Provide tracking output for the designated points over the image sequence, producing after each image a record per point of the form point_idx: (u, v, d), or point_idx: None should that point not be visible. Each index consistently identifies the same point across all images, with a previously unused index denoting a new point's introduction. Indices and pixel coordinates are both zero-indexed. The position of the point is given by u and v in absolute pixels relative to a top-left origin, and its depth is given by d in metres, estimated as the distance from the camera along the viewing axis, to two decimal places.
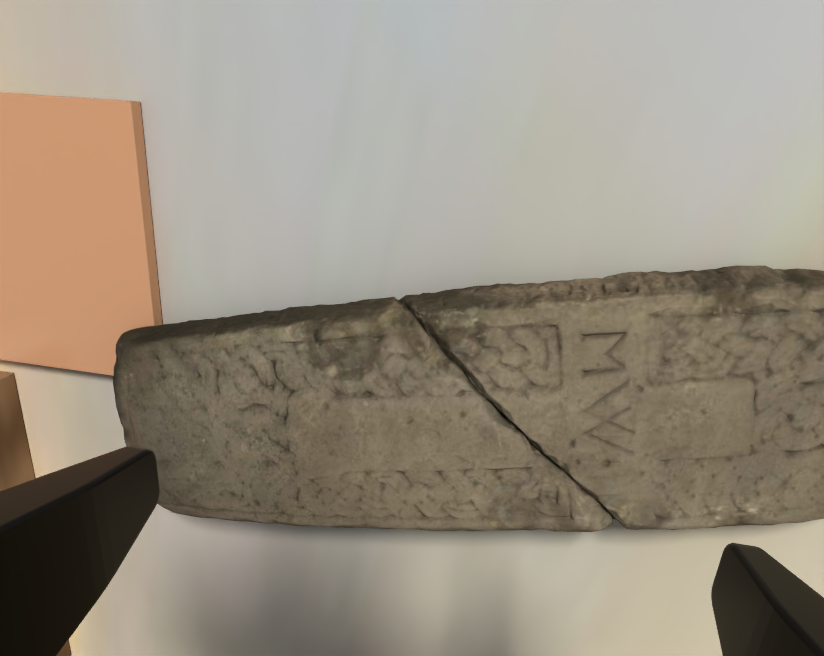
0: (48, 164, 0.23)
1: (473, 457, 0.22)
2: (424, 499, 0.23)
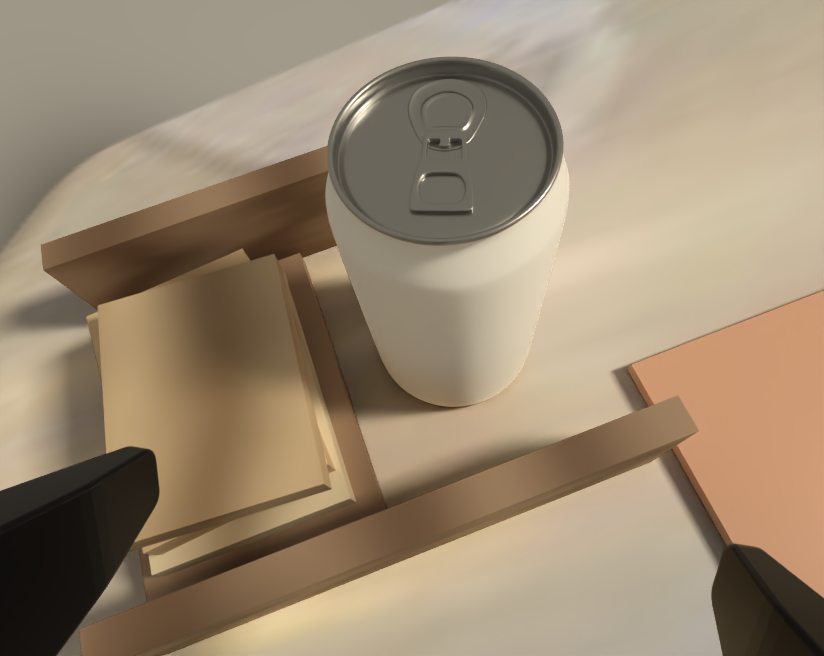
0: None
1: None
2: None
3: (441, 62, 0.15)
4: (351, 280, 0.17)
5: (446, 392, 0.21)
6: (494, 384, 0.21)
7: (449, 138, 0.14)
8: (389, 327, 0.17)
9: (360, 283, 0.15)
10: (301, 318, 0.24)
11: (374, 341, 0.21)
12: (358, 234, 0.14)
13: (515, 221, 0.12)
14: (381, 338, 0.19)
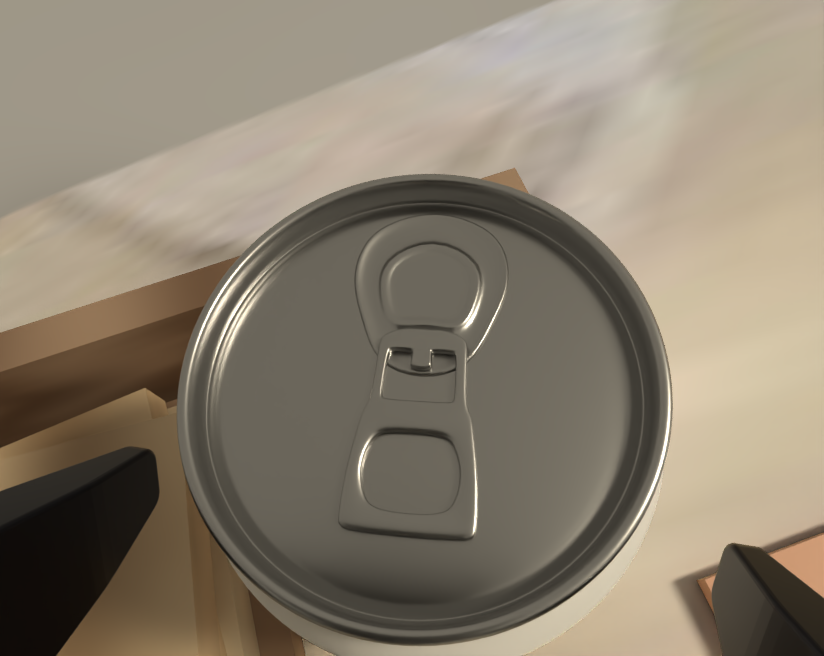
0: None
1: None
2: None
3: (423, 183, 0.08)
4: None
5: None
6: None
7: (433, 346, 0.07)
8: None
9: None
10: None
11: None
12: None
13: (571, 595, 0.05)
14: None
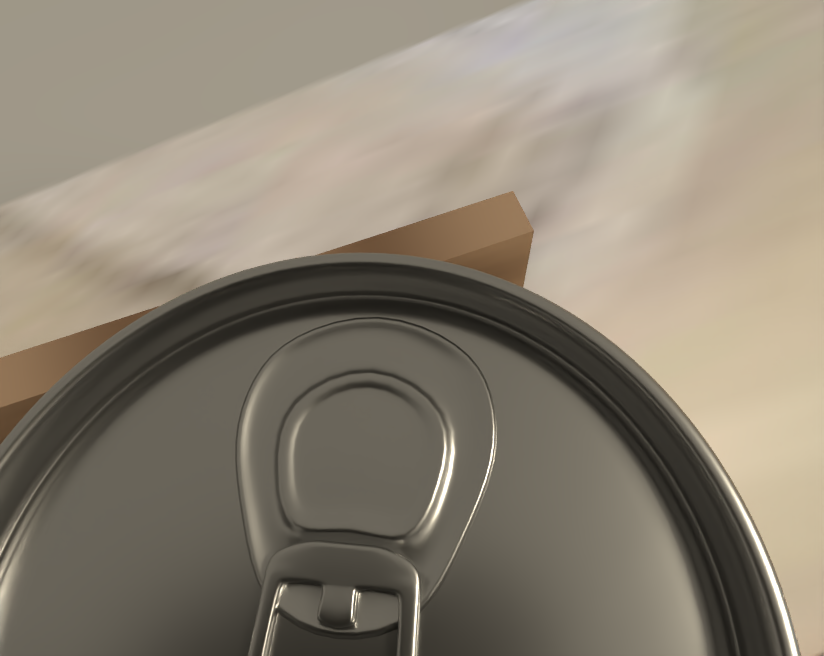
0: None
1: None
2: None
3: (359, 265, 0.05)
4: None
5: None
6: None
7: (361, 575, 0.04)
8: None
9: None
10: None
11: None
12: None
13: None
14: None
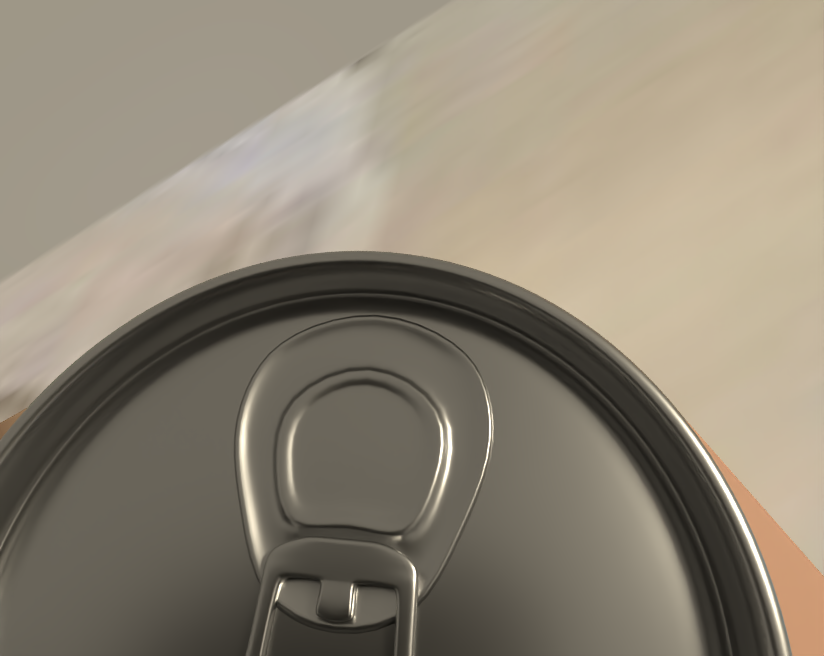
0: None
1: None
2: None
3: (357, 263, 0.05)
4: None
5: None
6: None
7: (358, 569, 0.04)
8: None
9: None
10: None
11: None
12: None
13: None
14: None
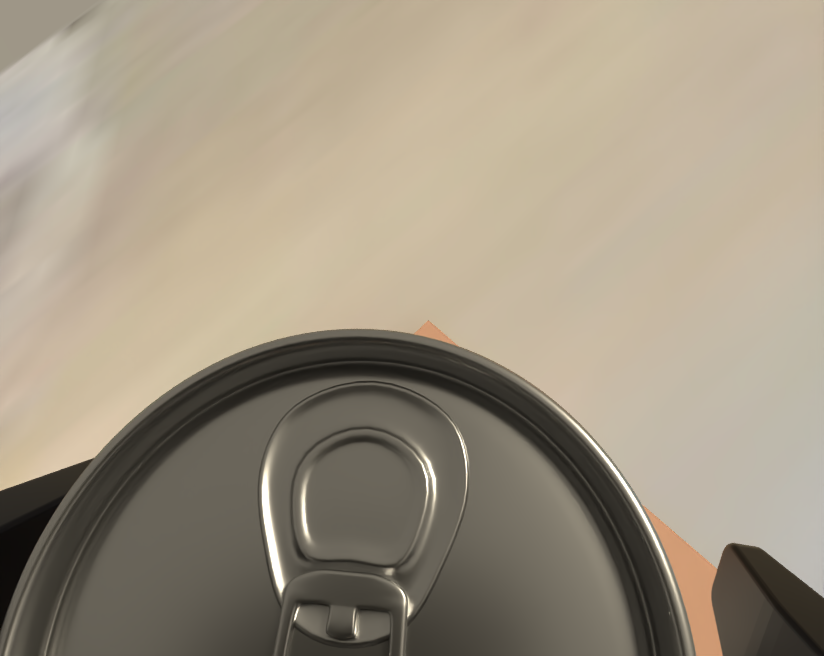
0: None
1: None
2: None
3: (357, 338, 0.06)
4: None
5: None
6: None
7: (359, 596, 0.05)
8: None
9: None
10: None
11: None
12: None
13: None
14: None
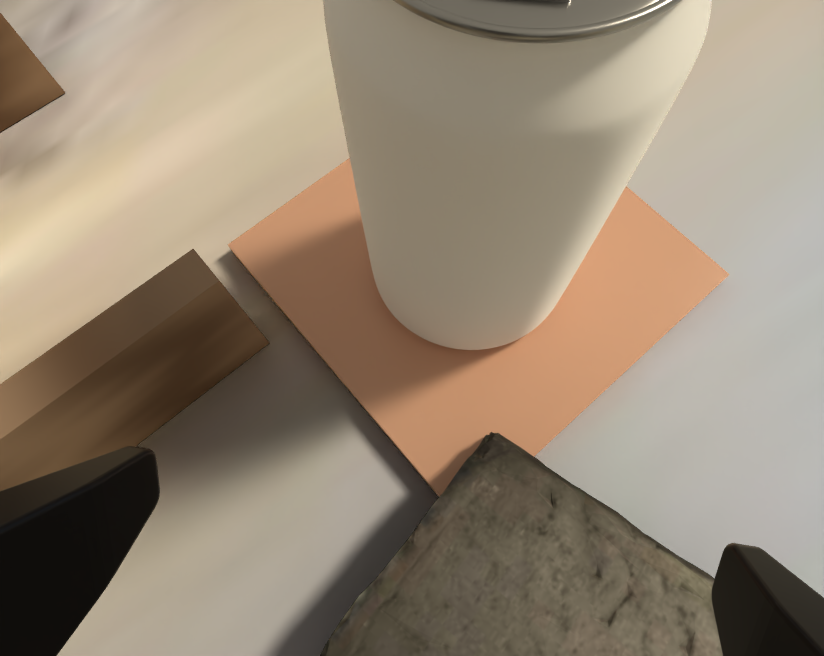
0: None
1: None
2: None
3: None
4: (349, 136, 0.11)
5: (456, 327, 0.16)
6: (519, 324, 0.16)
7: None
8: (396, 215, 0.12)
9: (363, 132, 0.10)
10: None
11: (369, 249, 0.16)
12: (371, 27, 0.08)
13: (648, 14, 0.07)
14: (381, 238, 0.13)
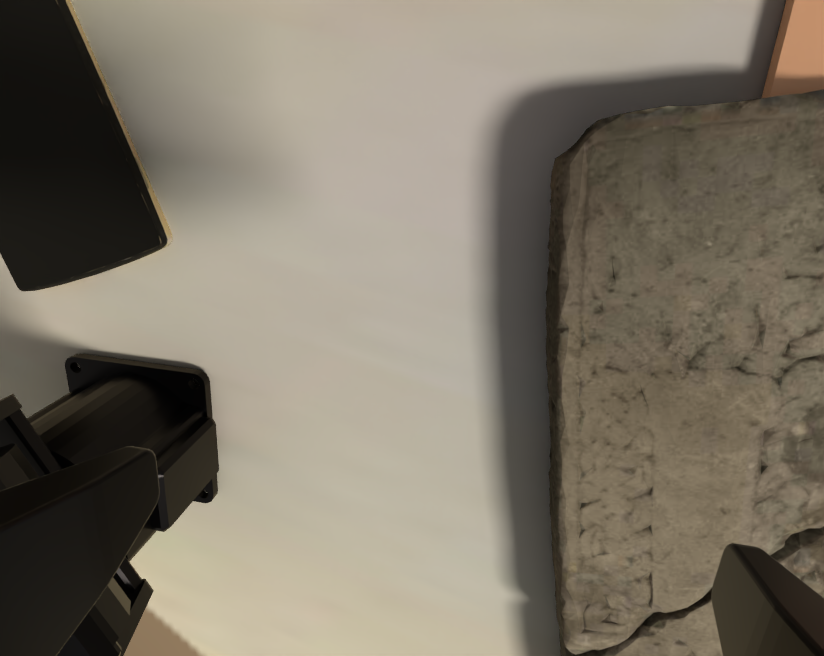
0: None
1: (669, 564, 0.20)
2: (608, 510, 0.20)
3: None
4: None
5: None
6: None
7: None
8: None
9: None
10: None
11: None
12: None
13: None
14: None
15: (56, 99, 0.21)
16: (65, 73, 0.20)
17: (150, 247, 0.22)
